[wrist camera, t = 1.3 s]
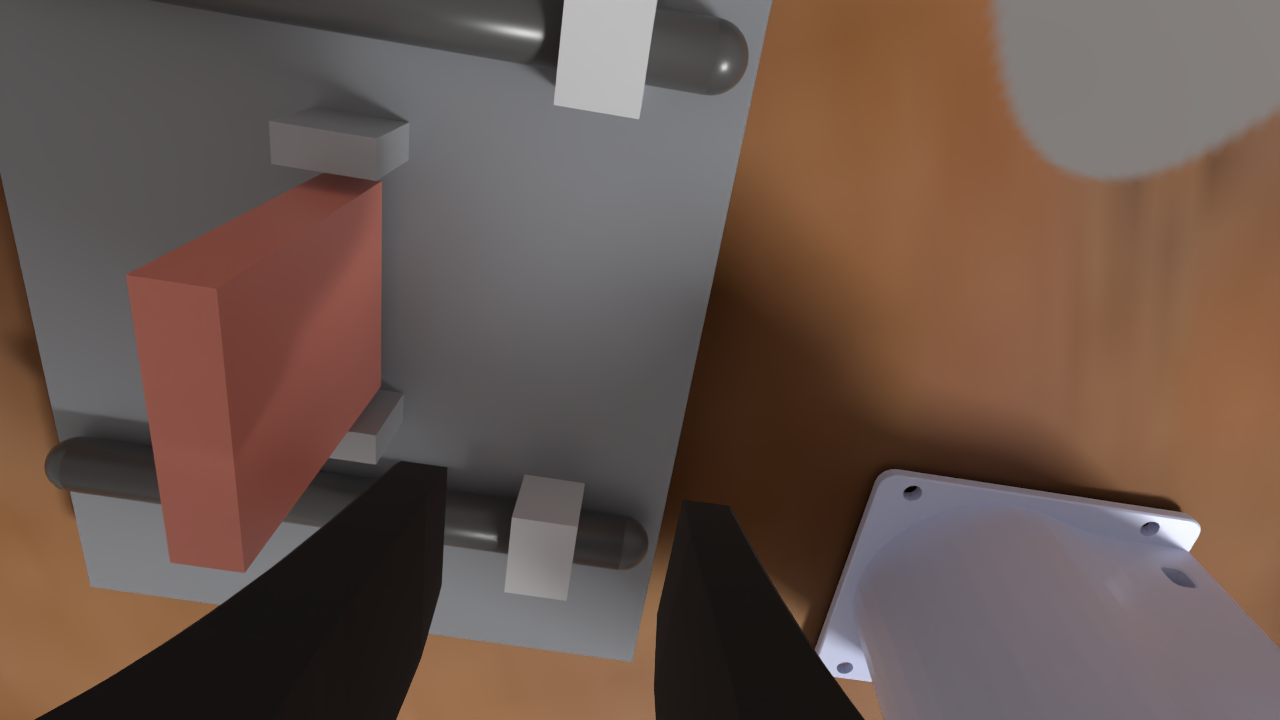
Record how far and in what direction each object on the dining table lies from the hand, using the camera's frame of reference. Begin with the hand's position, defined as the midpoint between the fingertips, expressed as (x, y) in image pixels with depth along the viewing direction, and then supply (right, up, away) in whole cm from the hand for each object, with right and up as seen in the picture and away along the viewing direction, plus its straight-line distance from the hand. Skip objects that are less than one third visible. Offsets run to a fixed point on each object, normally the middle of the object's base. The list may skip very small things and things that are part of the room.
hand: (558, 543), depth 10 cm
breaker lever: (-5, +4, +7) cm, 9 cm away
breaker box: (-5, +5, +9) cm, 12 cm away
